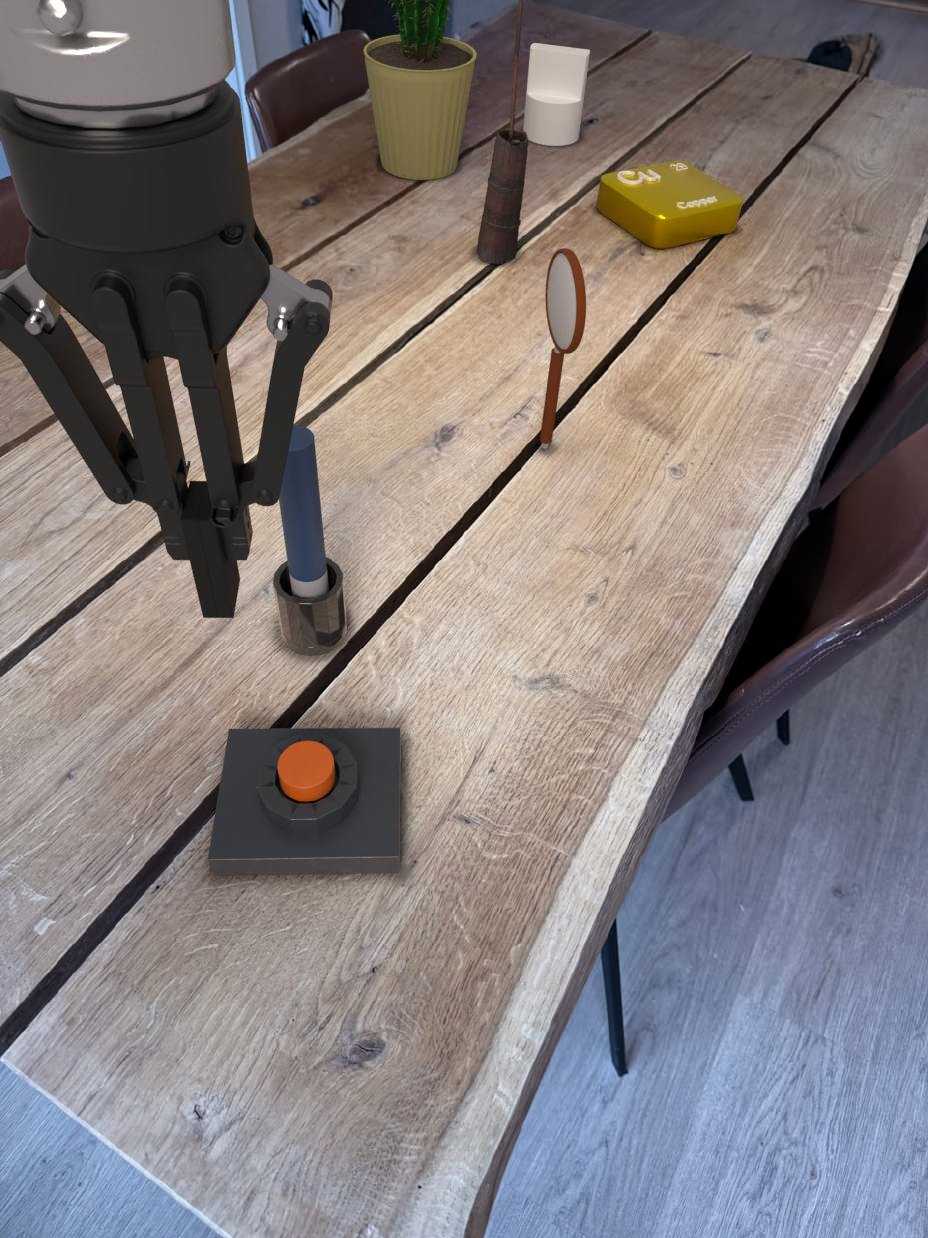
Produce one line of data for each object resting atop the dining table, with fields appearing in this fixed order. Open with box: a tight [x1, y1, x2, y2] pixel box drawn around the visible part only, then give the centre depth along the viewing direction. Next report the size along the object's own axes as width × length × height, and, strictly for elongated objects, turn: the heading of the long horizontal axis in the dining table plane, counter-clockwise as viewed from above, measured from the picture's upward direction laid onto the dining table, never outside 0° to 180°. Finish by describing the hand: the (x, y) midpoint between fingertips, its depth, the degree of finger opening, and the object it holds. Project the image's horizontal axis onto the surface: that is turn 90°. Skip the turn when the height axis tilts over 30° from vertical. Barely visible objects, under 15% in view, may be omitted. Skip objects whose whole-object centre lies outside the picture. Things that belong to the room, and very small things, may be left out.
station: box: [207, 727, 402, 877], centre depth 61 cm, size 12×10×4 cm
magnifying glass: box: [539, 247, 587, 450], centre depth 82 cm, size 9×2×20 cm, turn 13°
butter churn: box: [476, 0, 530, 265], centre depth 105 cm, size 9×10×28 cm
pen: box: [278, 424, 329, 599], centre depth 65 cm, size 3×3×18 cm
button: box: [277, 741, 336, 802], centre depth 59 cm, size 4×4×2 cm
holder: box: [272, 556, 348, 656], centre depth 70 cm, size 5×5×6 cm
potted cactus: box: [363, 0, 477, 181], centre depth 123 cm, size 15×15×30 cm
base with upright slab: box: [522, 42, 591, 147], centre depth 140 cm, size 9×9×12 cm
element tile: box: [596, 159, 744, 250], centre depth 124 cm, size 15×15×5 cm
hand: (222, 597), depth 46 cm, fingers closed
